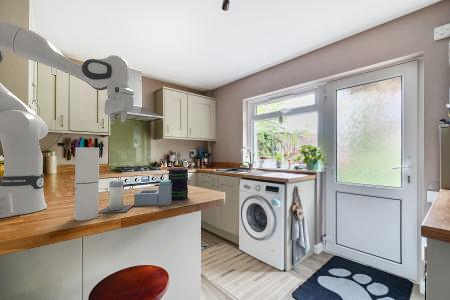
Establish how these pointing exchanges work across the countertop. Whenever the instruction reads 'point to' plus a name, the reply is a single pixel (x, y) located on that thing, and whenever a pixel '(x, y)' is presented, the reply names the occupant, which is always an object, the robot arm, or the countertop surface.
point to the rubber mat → (124, 210)
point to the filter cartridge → (116, 195)
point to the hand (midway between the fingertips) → (117, 122)
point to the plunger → (165, 182)
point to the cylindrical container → (86, 183)
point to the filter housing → (154, 196)
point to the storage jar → (179, 184)
